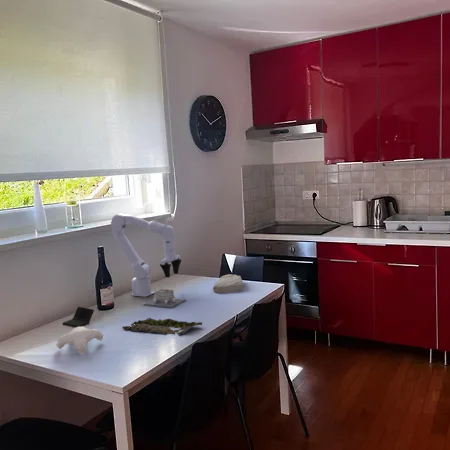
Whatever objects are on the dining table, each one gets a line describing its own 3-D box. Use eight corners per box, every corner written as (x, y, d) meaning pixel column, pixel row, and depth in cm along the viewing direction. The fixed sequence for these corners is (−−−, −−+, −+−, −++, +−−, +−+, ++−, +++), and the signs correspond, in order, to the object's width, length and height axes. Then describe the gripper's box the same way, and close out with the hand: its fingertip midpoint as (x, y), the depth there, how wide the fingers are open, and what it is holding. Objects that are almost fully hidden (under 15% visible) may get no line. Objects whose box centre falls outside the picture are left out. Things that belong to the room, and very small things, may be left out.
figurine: (58, 353, 180) (57, 361, 164) (54, 329, 181) (53, 333, 164) (103, 344, 186) (107, 350, 169) (100, 320, 187) (103, 323, 170)
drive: (155, 302, 225) (154, 290, 225) (160, 299, 229) (159, 288, 228) (169, 303, 222) (168, 291, 221) (174, 301, 225) (173, 289, 224)
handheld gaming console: (58, 322, 202) (69, 301, 206) (68, 327, 208) (78, 306, 212) (78, 328, 197) (89, 306, 201) (88, 333, 203) (98, 312, 207)
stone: (244, 292, 237) (243, 281, 236) (213, 294, 236) (213, 284, 235) (239, 282, 258) (239, 272, 257) (212, 284, 257) (211, 274, 256)
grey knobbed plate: (143, 305, 224) (143, 299, 224) (158, 298, 234) (158, 292, 234) (171, 308, 216) (171, 302, 216) (185, 300, 227) (185, 295, 226)
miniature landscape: (203, 326, 189) (203, 319, 189) (190, 338, 178) (190, 331, 178) (136, 322, 202) (135, 316, 201) (120, 333, 191) (119, 326, 191)
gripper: (167, 252, 231) (170, 279, 233) (184, 246, 244) (186, 272, 245) (156, 252, 234) (158, 278, 236) (172, 246, 247) (174, 271, 249)
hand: (171, 275), depth 241 cm, fingers open, 7 cm apart
